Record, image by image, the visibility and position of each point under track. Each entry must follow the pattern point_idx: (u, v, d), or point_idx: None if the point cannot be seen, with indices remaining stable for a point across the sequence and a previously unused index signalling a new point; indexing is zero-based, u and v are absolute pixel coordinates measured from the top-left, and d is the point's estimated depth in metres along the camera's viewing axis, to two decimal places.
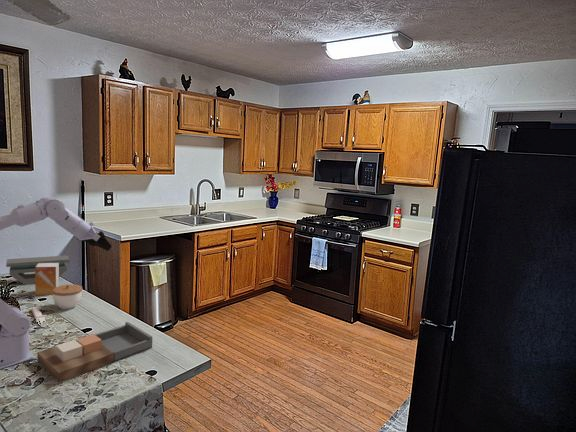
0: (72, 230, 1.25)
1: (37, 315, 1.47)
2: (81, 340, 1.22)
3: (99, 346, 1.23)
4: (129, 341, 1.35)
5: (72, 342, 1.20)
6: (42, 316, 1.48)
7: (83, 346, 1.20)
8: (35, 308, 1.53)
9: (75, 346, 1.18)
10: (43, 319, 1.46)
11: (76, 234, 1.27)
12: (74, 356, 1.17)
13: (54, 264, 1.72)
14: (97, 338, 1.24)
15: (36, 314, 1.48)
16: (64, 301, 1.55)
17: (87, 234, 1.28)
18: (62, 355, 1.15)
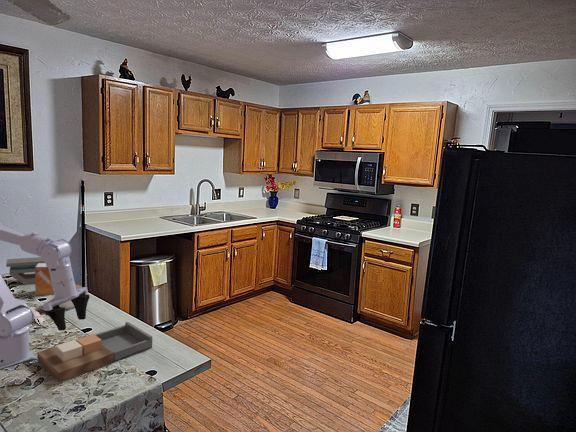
0: (52, 284, 1.13)
1: (35, 315, 1.47)
2: (81, 340, 1.22)
3: (99, 346, 1.23)
4: (129, 341, 1.35)
5: (72, 342, 1.20)
6: (41, 316, 1.47)
7: (83, 346, 1.20)
8: (32, 308, 1.52)
9: (75, 346, 1.18)
10: (42, 319, 1.46)
11: None
12: (74, 356, 1.17)
13: None
14: (97, 338, 1.24)
15: (34, 314, 1.48)
16: None
17: (56, 299, 1.12)
18: (62, 355, 1.15)
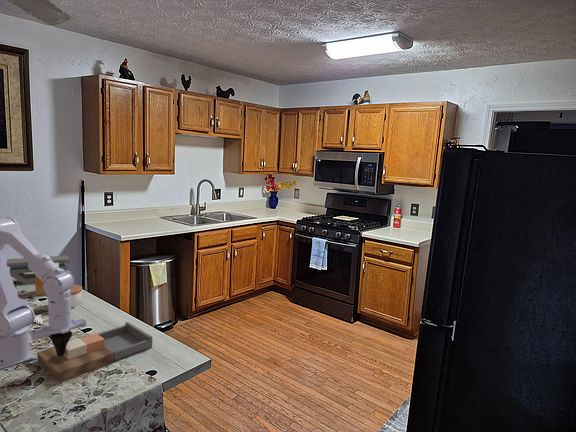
0: None
1: None
2: (83, 339, 1.23)
3: (102, 345, 1.24)
4: (129, 341, 1.35)
5: (76, 340, 1.22)
6: (37, 316, 1.47)
7: None
8: None
9: (80, 344, 1.20)
10: (40, 319, 1.46)
11: None
12: (79, 354, 1.18)
13: None
14: (100, 337, 1.25)
15: None
16: None
17: (48, 329, 1.13)
18: (66, 353, 1.16)
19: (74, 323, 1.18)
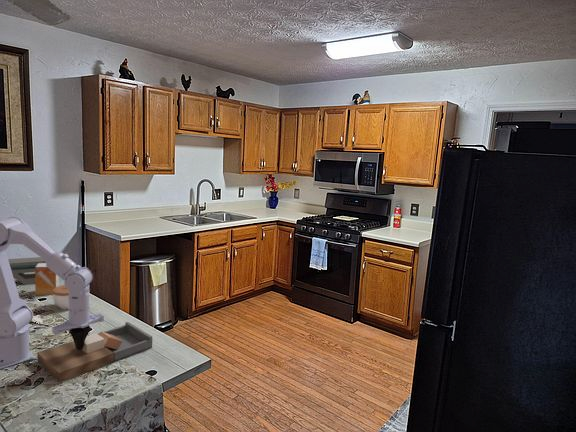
0: None
1: None
2: (105, 333, 1.28)
3: (117, 346, 1.28)
4: (129, 341, 1.35)
5: (94, 335, 1.26)
6: (35, 317, 1.47)
7: (107, 338, 1.26)
8: None
9: (98, 338, 1.24)
10: (39, 319, 1.46)
11: None
12: (97, 348, 1.23)
13: None
14: (118, 339, 1.30)
15: None
16: (64, 301, 1.55)
17: (68, 323, 1.17)
18: (85, 347, 1.21)
19: (92, 318, 1.23)
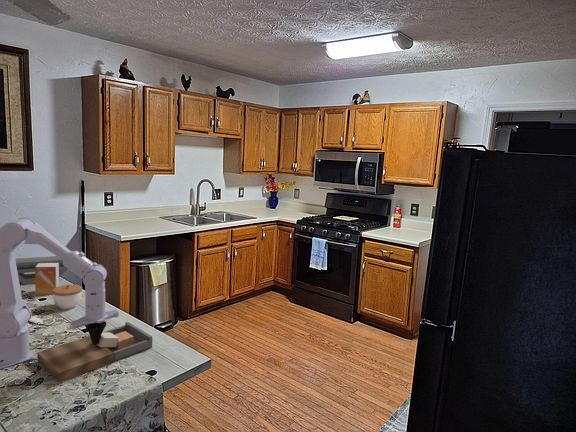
0: None
1: None
2: None
3: (131, 342, 1.32)
4: None
5: (109, 333, 1.30)
6: (34, 317, 1.46)
7: None
8: None
9: (113, 336, 1.28)
10: (38, 319, 1.46)
11: None
12: (110, 345, 1.26)
13: (54, 264, 1.72)
14: (129, 335, 1.33)
15: None
16: (64, 301, 1.55)
17: (85, 319, 1.21)
18: (101, 340, 1.24)
19: (108, 314, 1.26)
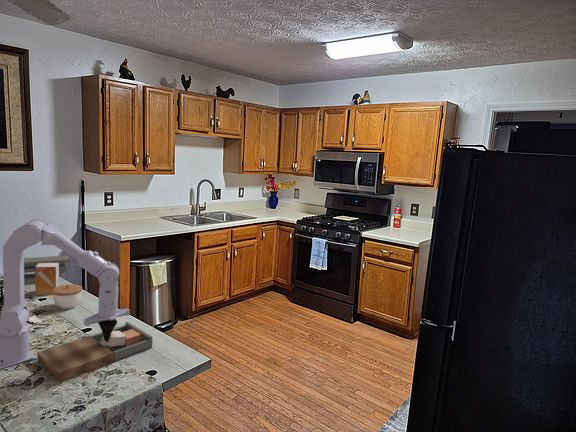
0: None
1: None
2: None
3: (139, 340, 1.34)
4: None
5: (117, 332, 1.32)
6: (32, 317, 1.46)
7: (126, 339, 1.31)
8: None
9: (121, 335, 1.30)
10: (37, 319, 1.46)
11: None
12: (118, 344, 1.29)
13: (54, 264, 1.72)
14: (137, 332, 1.35)
15: None
16: (64, 301, 1.55)
17: (98, 316, 1.25)
18: (109, 340, 1.27)
19: (119, 312, 1.30)
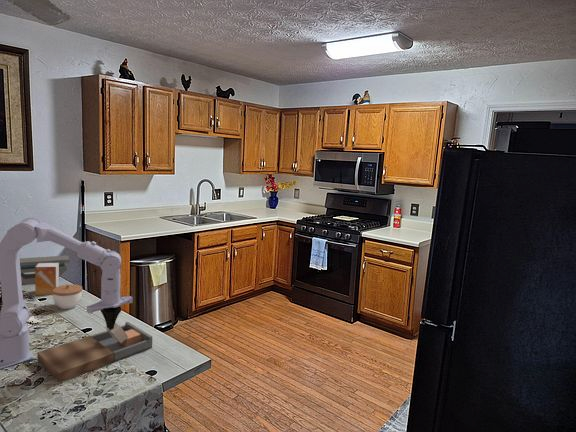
0: None
1: None
2: None
3: (139, 340, 1.34)
4: None
5: None
6: (31, 318, 1.46)
7: (126, 339, 1.31)
8: None
9: None
10: (36, 319, 1.45)
11: None
12: (118, 338, 1.28)
13: (54, 264, 1.72)
14: (137, 332, 1.35)
15: None
16: (64, 301, 1.55)
17: (101, 303, 1.25)
18: (115, 328, 1.28)
19: (122, 299, 1.30)
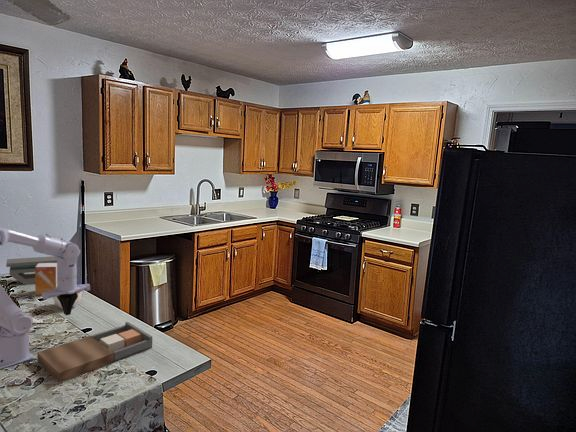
0: None
1: None
2: (123, 334, 1.33)
3: (139, 340, 1.34)
4: None
5: (114, 336, 1.32)
6: None
7: (126, 339, 1.31)
8: None
9: (118, 339, 1.30)
10: (34, 319, 1.45)
11: None
12: (117, 348, 1.28)
13: (54, 264, 1.72)
14: (137, 332, 1.35)
15: None
16: None
17: (57, 290, 1.29)
18: (107, 347, 1.26)
19: (79, 286, 1.34)
